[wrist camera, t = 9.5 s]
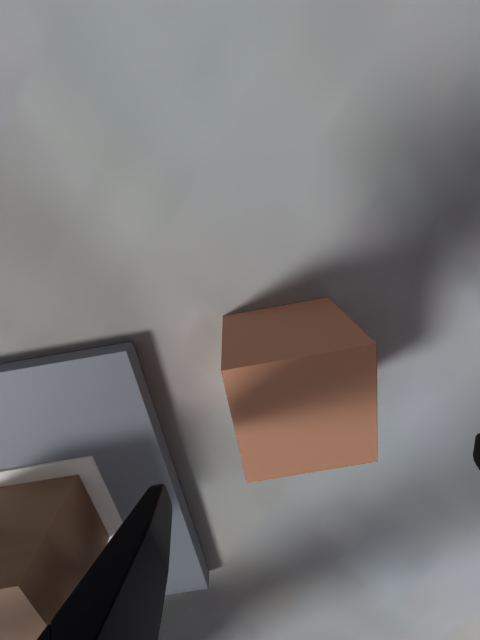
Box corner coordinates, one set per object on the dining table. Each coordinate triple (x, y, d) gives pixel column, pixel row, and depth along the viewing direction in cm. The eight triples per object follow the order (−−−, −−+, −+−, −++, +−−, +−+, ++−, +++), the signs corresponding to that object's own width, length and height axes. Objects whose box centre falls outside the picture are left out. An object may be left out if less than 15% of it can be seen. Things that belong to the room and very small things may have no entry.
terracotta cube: (334, 385, 16) (378, 461, 11) (241, 401, 16) (246, 482, 12) (327, 296, 14) (376, 343, 10) (222, 315, 14) (220, 370, 10)
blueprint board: (209, 571, 21) (208, 590, 20) (14, 600, 22) (3, 621, 21) (132, 341, 15) (125, 352, 14) (-147, 388, 15) (-175, 403, 14)
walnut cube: (109, 536, 18) (68, 654, 13) (27, 549, 18) (-43, 670, 13) (78, 474, 16) (18, 586, 11) (-13, 489, 16) (-110, 605, 12)
